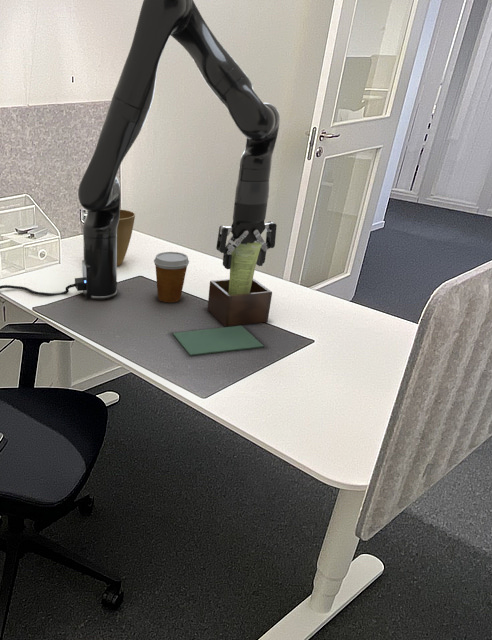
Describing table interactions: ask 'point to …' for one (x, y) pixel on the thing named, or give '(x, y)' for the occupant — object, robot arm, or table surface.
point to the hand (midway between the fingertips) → (243, 266)
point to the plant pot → (124, 233)
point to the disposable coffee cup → (170, 275)
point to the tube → (243, 267)
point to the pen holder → (239, 303)
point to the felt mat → (217, 340)
